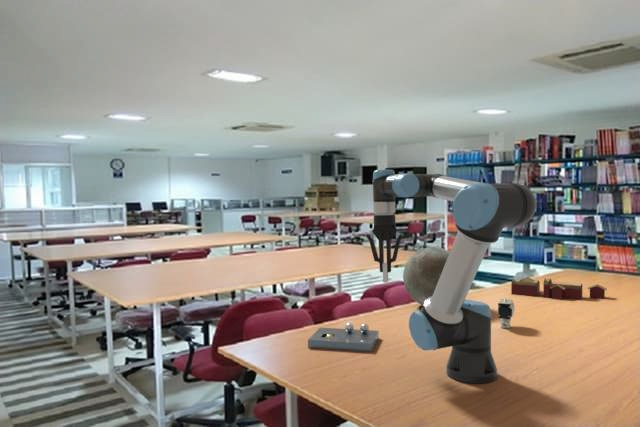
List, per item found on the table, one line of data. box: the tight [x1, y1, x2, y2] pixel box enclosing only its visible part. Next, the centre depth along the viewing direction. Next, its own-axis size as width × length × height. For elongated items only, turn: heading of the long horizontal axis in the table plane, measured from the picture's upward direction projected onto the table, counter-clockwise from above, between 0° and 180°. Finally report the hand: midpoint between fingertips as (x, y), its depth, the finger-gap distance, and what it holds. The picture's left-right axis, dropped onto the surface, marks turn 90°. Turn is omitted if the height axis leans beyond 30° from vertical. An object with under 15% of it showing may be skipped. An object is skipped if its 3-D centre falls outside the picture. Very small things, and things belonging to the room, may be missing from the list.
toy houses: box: [510, 276, 608, 301], centre depth 261 cm, size 45×20×10 cm, turn 57°
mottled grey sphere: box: [402, 246, 450, 306], centre depth 241 cm, size 30×30×30 cm
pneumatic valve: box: [497, 298, 515, 330], centre depth 202 cm, size 6×12×12 cm, turn 152°
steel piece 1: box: [344, 322, 355, 332], centre depth 190 cm, size 3×3×3 cm
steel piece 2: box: [359, 323, 370, 333], centre depth 188 cm, size 3×3×3 cm
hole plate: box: [307, 327, 380, 353], centre depth 185 cm, size 17×24×3 cm
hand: (385, 281), depth 169 cm, fingers closed
